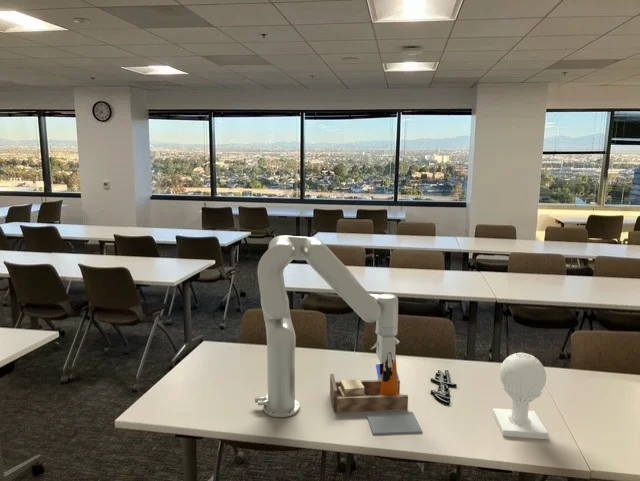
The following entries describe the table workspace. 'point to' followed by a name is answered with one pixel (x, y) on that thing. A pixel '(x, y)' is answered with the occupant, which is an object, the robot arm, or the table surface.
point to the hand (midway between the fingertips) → (385, 377)
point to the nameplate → (442, 387)
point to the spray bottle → (392, 384)
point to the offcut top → (352, 387)
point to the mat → (393, 423)
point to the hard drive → (379, 372)
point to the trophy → (521, 396)
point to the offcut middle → (343, 393)
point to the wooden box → (366, 398)
